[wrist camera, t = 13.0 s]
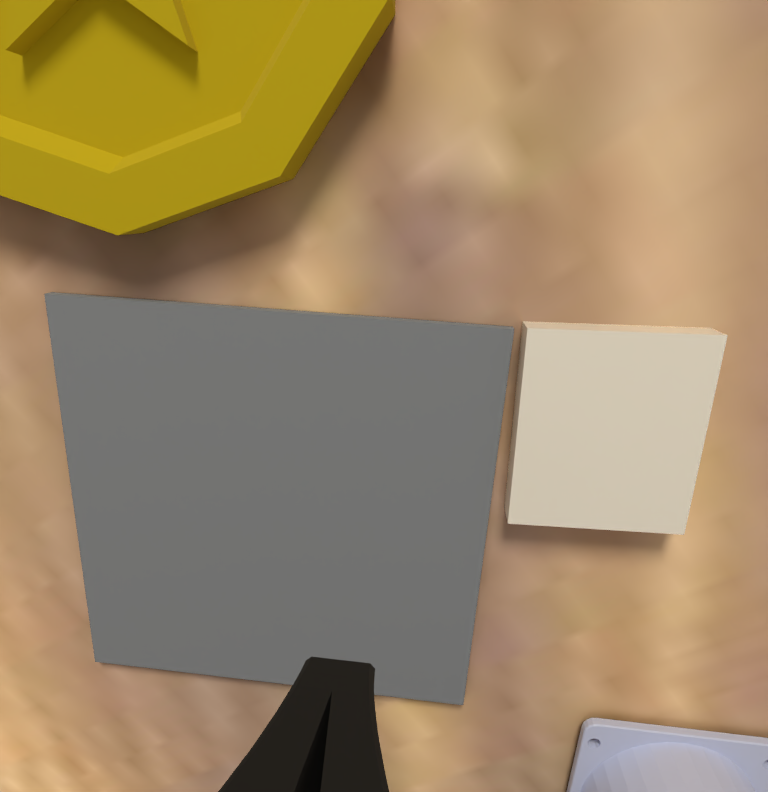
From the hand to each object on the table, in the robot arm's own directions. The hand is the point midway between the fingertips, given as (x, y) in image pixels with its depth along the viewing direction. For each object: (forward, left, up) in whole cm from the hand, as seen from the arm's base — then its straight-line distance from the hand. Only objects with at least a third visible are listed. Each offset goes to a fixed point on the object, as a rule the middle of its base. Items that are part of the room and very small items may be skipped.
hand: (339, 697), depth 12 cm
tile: (+3, -4, -10) cm, 11 cm away
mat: (-2, +4, -10) cm, 11 cm away
